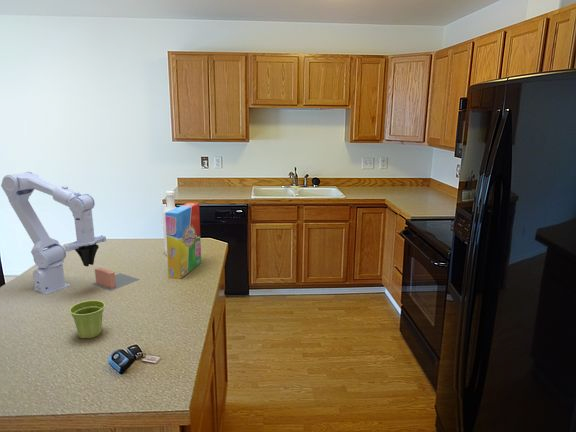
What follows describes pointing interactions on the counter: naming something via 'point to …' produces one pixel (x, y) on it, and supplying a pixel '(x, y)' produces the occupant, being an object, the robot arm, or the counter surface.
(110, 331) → the counter surface
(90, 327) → the plant pot
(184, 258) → the game box
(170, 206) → the bottle
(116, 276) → the mat
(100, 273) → the block
